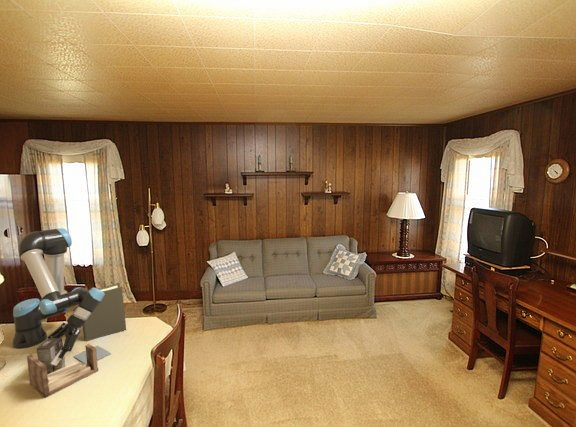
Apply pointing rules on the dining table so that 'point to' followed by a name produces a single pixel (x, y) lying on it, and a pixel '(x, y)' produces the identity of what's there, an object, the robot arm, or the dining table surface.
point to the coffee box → (51, 354)
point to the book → (106, 314)
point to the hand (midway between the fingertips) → (46, 360)
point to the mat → (100, 354)
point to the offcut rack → (60, 373)
